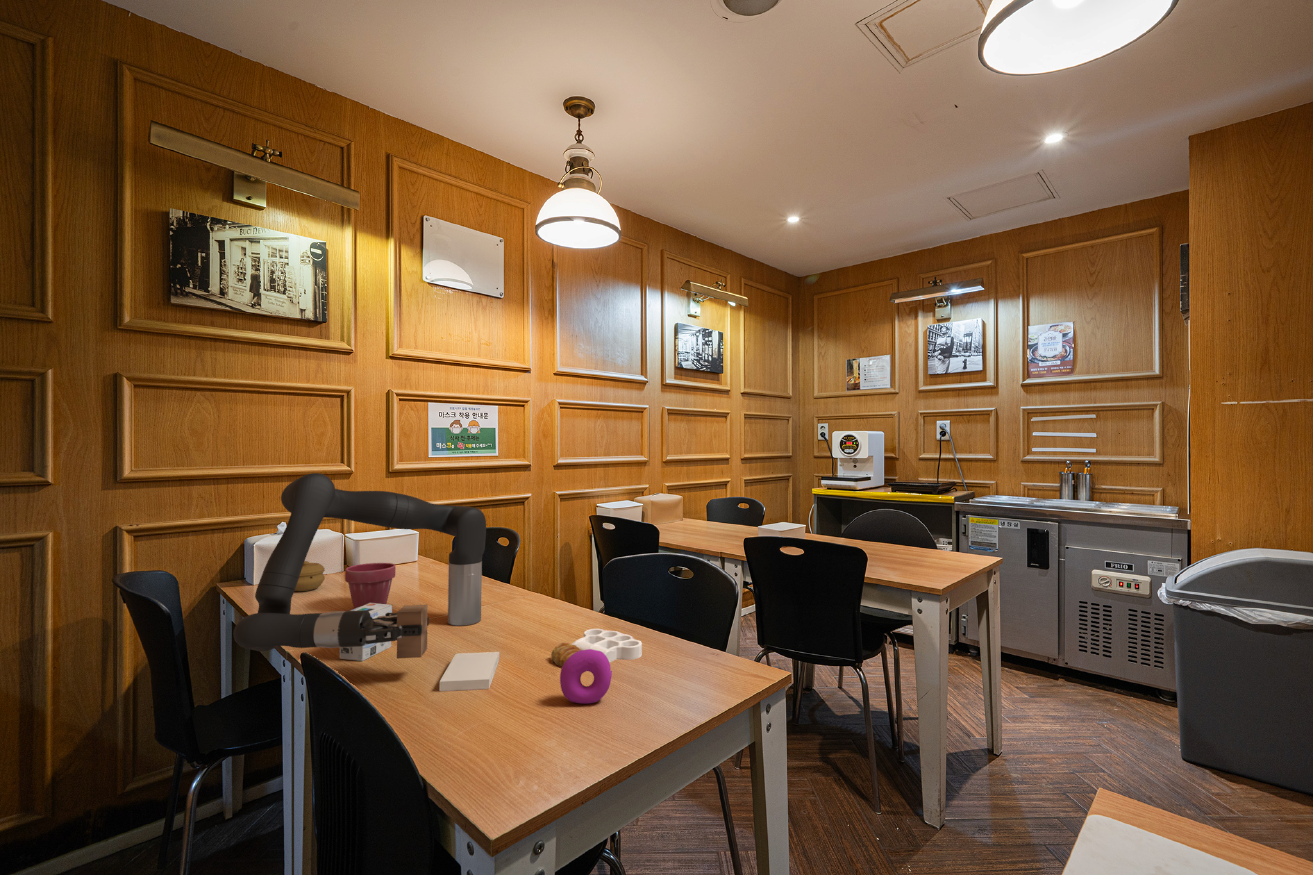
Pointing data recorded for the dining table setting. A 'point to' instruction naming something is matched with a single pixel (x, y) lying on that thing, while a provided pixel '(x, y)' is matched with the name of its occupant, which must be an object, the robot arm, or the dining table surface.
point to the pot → (310, 576)
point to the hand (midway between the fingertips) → (424, 625)
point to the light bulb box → (368, 649)
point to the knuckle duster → (610, 644)
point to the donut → (576, 667)
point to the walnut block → (412, 644)
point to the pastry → (563, 653)
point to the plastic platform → (470, 671)
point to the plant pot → (369, 582)
